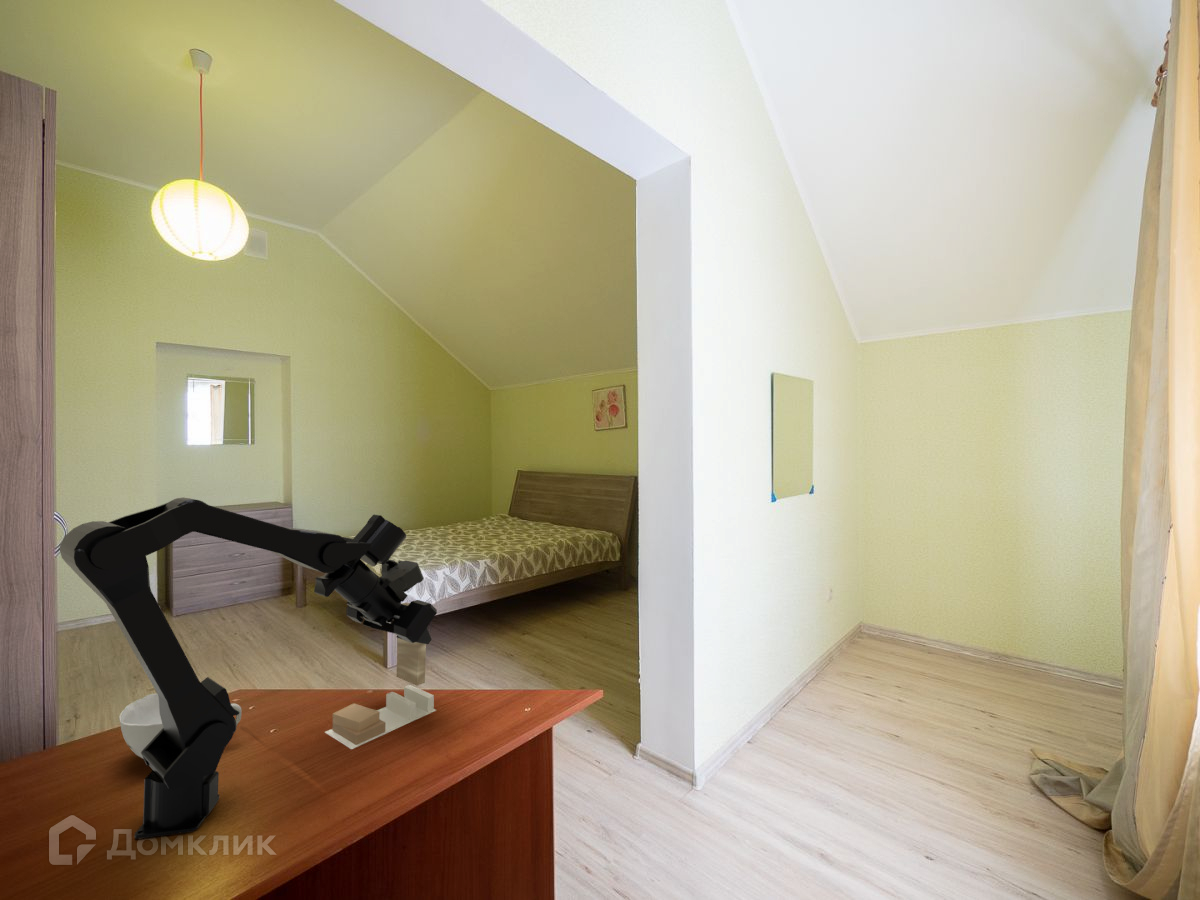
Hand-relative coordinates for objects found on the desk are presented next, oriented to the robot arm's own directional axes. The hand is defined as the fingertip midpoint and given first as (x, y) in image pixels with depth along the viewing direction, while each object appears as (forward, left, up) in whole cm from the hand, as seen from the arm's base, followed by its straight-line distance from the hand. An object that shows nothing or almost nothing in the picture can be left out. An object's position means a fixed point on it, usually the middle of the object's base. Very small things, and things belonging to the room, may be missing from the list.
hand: (418, 637), depth 95 cm
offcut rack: (-5, -4, -13) cm, 15 cm away
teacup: (-33, -7, -13) cm, 36 cm away
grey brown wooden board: (-1, -1, -7) cm, 7 cm away
